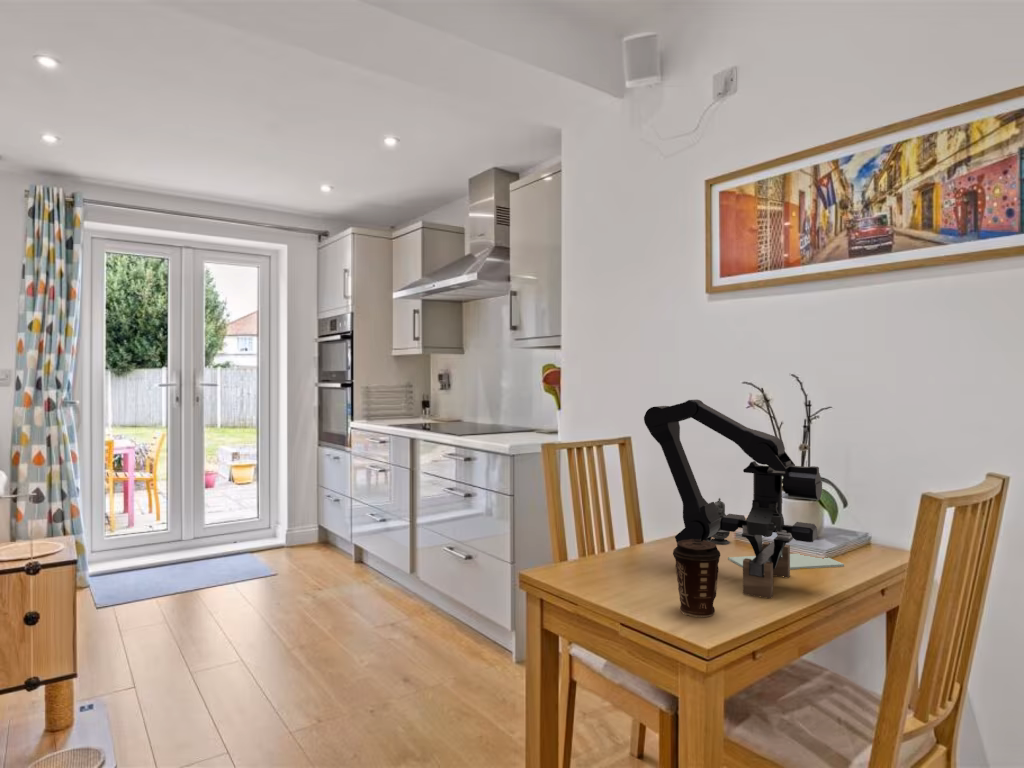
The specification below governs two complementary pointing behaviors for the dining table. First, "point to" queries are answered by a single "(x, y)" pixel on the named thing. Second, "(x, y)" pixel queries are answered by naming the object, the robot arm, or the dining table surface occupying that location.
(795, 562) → the sage mat
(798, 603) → the dining table surface
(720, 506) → the dark grey chess piece
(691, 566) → the coffee cup
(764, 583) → the walnut cradles
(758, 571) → the black rail
